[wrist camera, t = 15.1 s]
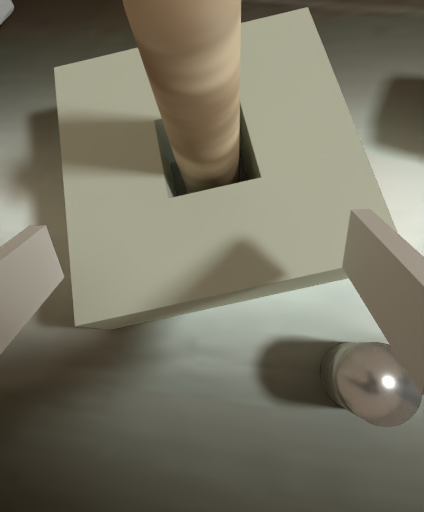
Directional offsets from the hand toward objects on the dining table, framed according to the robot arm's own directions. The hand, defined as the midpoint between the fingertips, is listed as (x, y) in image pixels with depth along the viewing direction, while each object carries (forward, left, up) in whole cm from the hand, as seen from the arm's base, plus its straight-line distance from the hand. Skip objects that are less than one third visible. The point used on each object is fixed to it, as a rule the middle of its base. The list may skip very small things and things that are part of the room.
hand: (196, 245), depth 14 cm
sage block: (-1, -7, -9) cm, 11 cm away
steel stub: (-7, +8, -9) cm, 14 cm away
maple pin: (-2, -7, -9) cm, 11 cm away
